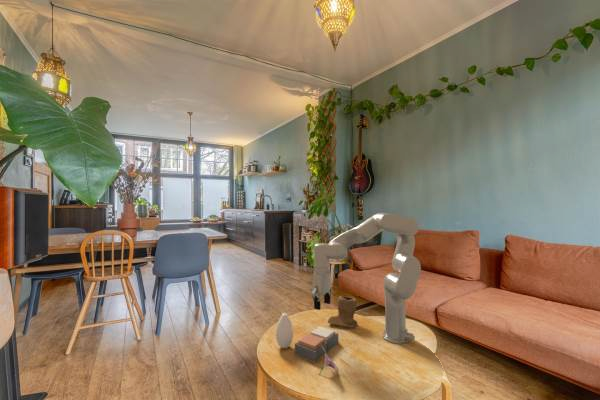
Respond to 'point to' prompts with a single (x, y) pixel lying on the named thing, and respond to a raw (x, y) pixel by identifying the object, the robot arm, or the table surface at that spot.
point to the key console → (319, 352)
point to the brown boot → (345, 312)
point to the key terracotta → (311, 341)
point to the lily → (329, 362)
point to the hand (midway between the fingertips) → (322, 306)
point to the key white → (323, 333)
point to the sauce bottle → (284, 331)
